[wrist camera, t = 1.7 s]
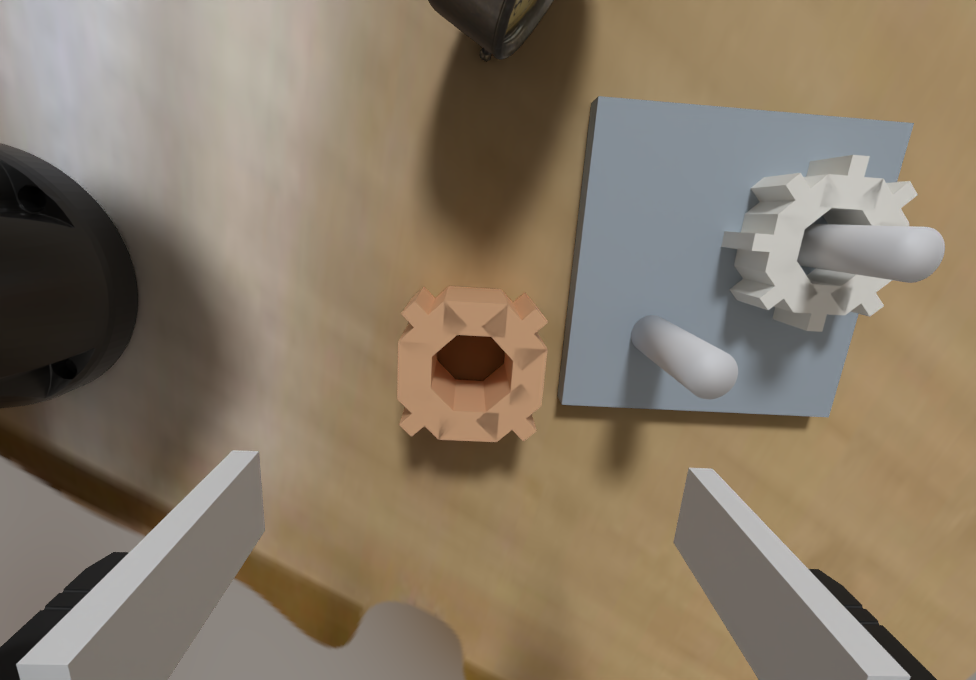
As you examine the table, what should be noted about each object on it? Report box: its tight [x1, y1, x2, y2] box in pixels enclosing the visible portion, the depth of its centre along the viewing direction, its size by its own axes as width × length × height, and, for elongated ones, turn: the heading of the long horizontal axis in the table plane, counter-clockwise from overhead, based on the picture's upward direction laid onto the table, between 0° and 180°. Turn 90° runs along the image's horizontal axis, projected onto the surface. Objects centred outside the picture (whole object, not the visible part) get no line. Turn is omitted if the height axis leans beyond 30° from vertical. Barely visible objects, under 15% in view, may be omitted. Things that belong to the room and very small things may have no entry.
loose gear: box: [397, 286, 548, 442], centre depth 27 cm, size 8×8×5 cm
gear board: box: [558, 96, 945, 417], centre depth 24 cm, size 18×18×9 cm
